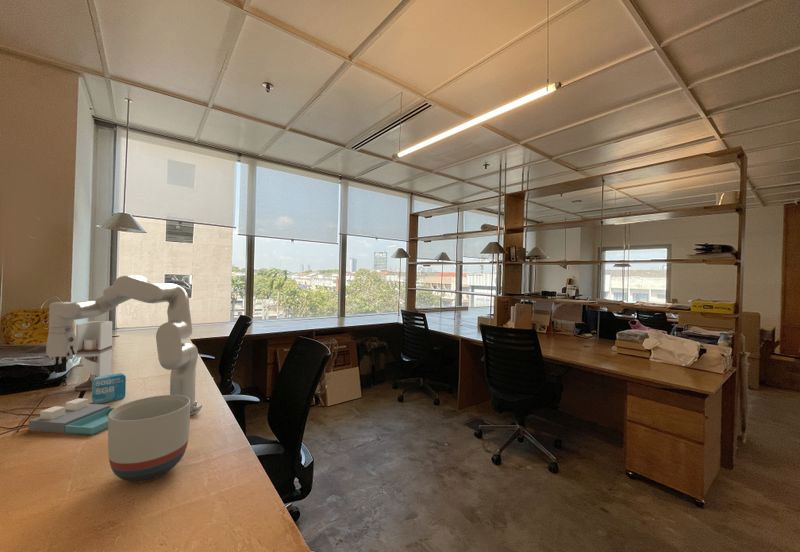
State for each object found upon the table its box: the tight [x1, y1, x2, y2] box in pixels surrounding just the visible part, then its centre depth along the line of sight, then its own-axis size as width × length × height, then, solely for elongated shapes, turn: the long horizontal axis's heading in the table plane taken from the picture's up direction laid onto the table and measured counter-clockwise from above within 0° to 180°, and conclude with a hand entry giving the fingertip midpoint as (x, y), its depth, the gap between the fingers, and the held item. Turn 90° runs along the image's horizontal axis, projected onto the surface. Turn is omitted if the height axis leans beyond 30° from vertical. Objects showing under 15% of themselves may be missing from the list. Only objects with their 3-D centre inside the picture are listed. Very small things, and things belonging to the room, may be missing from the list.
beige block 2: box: [65, 397, 89, 410], centre depth 142 cm, size 5×5×3 cm
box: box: [64, 407, 116, 437], centre depth 135 cm, size 12×18×3 cm, turn 174°
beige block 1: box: [39, 405, 66, 419], centre depth 133 cm, size 5×5×3 cm
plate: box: [27, 403, 111, 434], centre depth 137 cm, size 16×18×4 cm
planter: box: [107, 394, 191, 483], centre depth 102 cm, size 20×20×21 cm
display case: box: [74, 320, 113, 391], centre depth 180 cm, size 11×11×35 cm
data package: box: [91, 372, 127, 404], centre depth 161 cm, size 12×4×12 cm, turn 139°
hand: (60, 372), depth 143 cm, fingers closed
